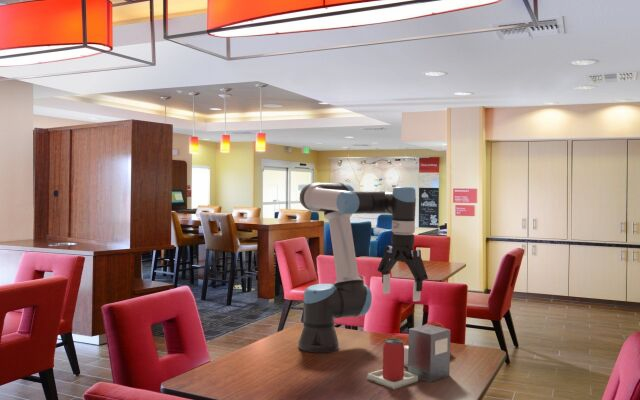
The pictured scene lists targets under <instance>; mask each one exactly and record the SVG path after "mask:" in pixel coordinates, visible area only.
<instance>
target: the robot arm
mask: <svg viewBox="0 0 640 400" xmlns="http://www.w3.org/2000/svg"><path fill="white" fill-rule="evenodd" d="M416 194H417V193H416V188H414V187H413V186H394V187H393V189H392V191H385V190H384V191H382V190H381V191H359V190H358V191H357V190H356V191H355V189H354V188H353V186H352V185H350V184H348V183H344V182H312V183H308V184H307V185H305V186H304V187H303V188H302V189H301V191H300V192H299V201H300V204H301V205H302V207H304V209H305V210H308V211H310V212H311V211H312V212H322V213H323V215H324V218H325V219H326V220H327V221H328V225H329V232H330V239H331V246H332V253H333V260H334V267H335V274H336V275H335V276H336V280H335V281H334V282H333V283H317V284H312V285H310V286H308V287H307V288H305V289H304V293H303V294H304V295H303V327H302V330H301V333H300V338H299V340H298V348H299V350H301V351H304V352H307V353H315V354H316V353H317V354H318V353H320V354H323V353H324V354H325V353H330V352H331V353H332V352H335V351H337V350H339V348H340V347H339V343H340V342H339V339H338V336H337V333H336V329H335V319H340V318H341V319H343V318H351V317H352V318H356V317H360V316H365V315H366V314H367V313H368V312H369V310H370V308H371V306H372V299H373V297H372V290H371V288H370V287H369V286H368V285H366V284H365V283H364V279H362V278H361V277H360V276H359V272H358V271H359V270H358V264H357V258H356V257H357V256H356V250H355V245H354V237H353V229H352V224H351V216H352V215H353V214H354V215H356V214H359V215H360V214H361V215H362V214H370V215H371V214H372V215H373V214H388V215H391V232H392V234H391V245H385V246H384V252H383V253H384V254H383V256H382V258H381V260H380V262H379V264H378V265H379V266H378V268H377V272H380V273H381V283H382V294H383V295H386V294H387V295H388V294H391V273H390V272H391V271H392V269H393V268H394V266H395V265H396V264H397V262H401V263H404V264H406V265H407V267H408V269H409V271H410V273H411V274H412V276H413V278H414V281H413V284H412V285H413V287H412V302H420V301H421V292H422V291H423V281H426V280H428V278H429V277H428V274H427V271H426V267H425V265H424V262H423V258H422V253H421V252H422V251H421V250H420V249H417V250H416V249H413V247H414V245H415V234H414V233H415V229H416V225H415V224H416V206H417V205H416V203H417V198H416V197H417V195H416Z"/></svg>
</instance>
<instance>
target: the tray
mask: <svg viewBox="0 0 640 400" xmlns="http://www.w3.org/2000/svg"><path fill="white" fill-rule="evenodd" d="M366 375H367V377H366V378H367V380H368V381H370V382H373V383H376V384H379V385H382V386H384V387H387V388H389V389H392V390H397V389H399V388H402V387H405V386H408V385H411V384H414V383H417V382H418V381H419V378H418V376H417V375H414V374H411V373H408V371H406V370H404V378H403V379H402V380H400V381H395V382H394V381H389V380H386V379H384V378H383V368H382V369H378V370H376V371H372V372H368V373H366Z"/></svg>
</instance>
